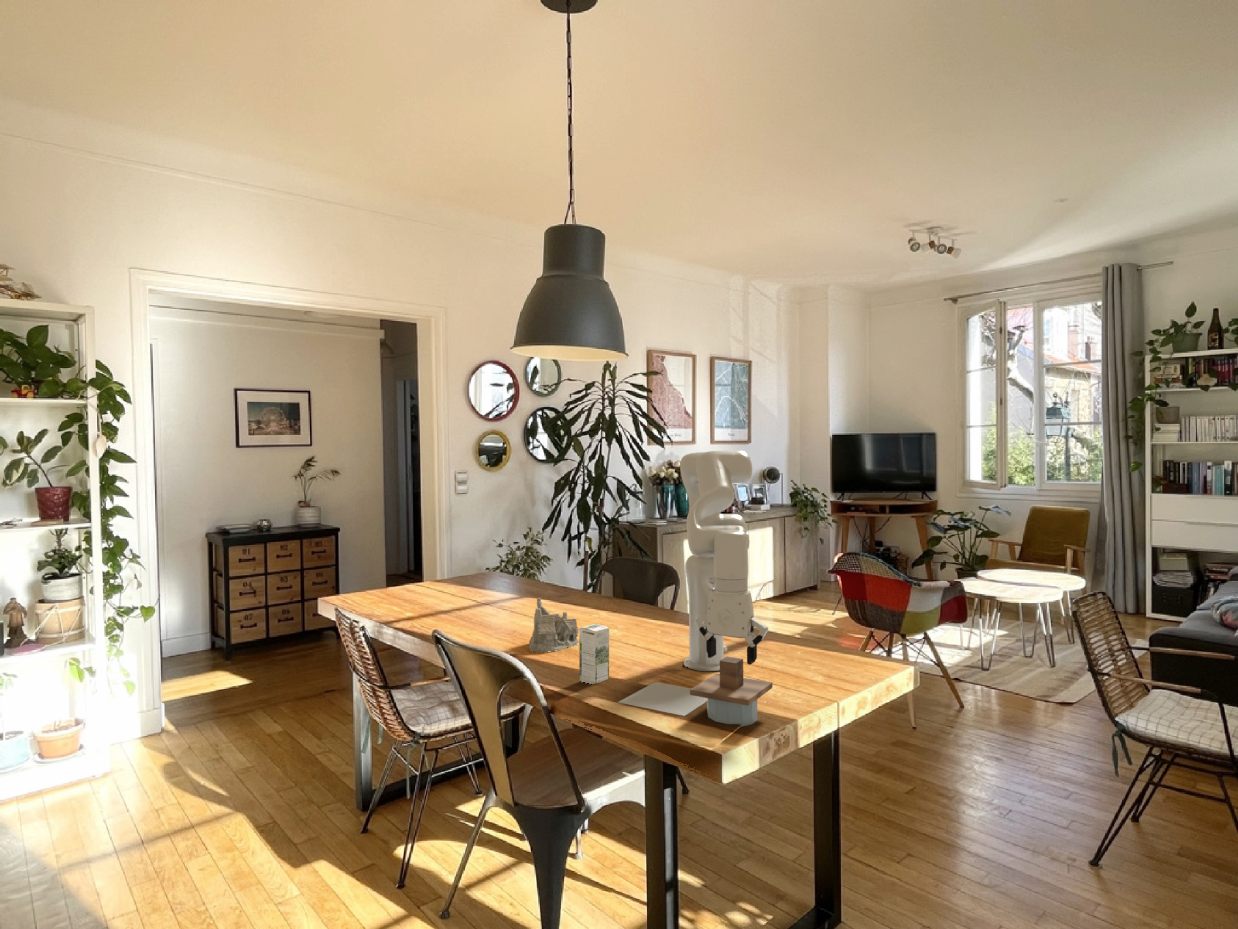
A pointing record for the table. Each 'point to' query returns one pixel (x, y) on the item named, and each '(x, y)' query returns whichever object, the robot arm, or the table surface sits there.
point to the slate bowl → (732, 712)
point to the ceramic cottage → (552, 631)
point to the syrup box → (593, 654)
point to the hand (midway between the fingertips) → (731, 659)
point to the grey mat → (665, 699)
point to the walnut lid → (731, 684)
